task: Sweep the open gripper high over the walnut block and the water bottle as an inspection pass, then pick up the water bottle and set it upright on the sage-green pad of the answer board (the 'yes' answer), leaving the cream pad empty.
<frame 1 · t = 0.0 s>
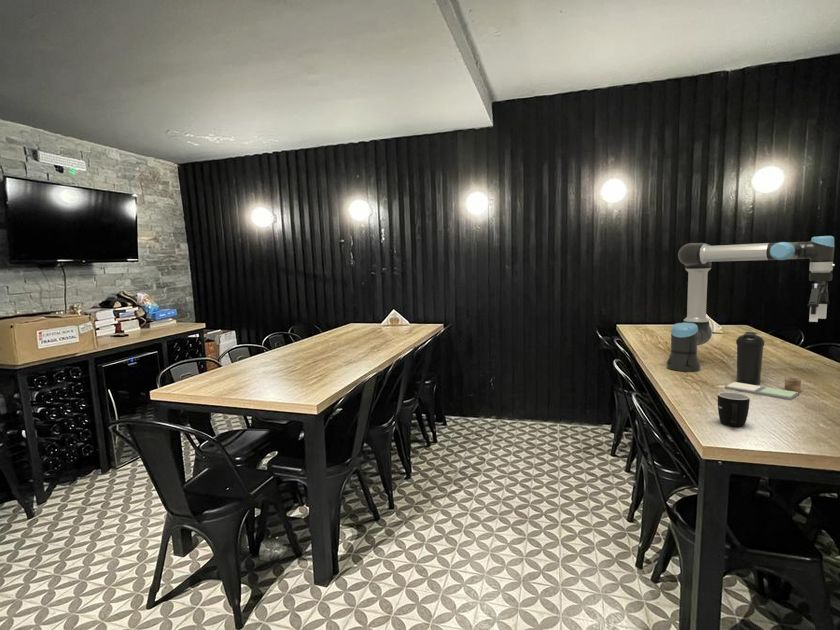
hand: (817, 320, 195), 28 cm above the table, fingers open, 13 cm apart
mug: (732, 426, 152), on the table
water bottle: (748, 383, 201), on the table
answer board: (760, 391, 188), on the table
walnut block: (792, 390, 187), on the table
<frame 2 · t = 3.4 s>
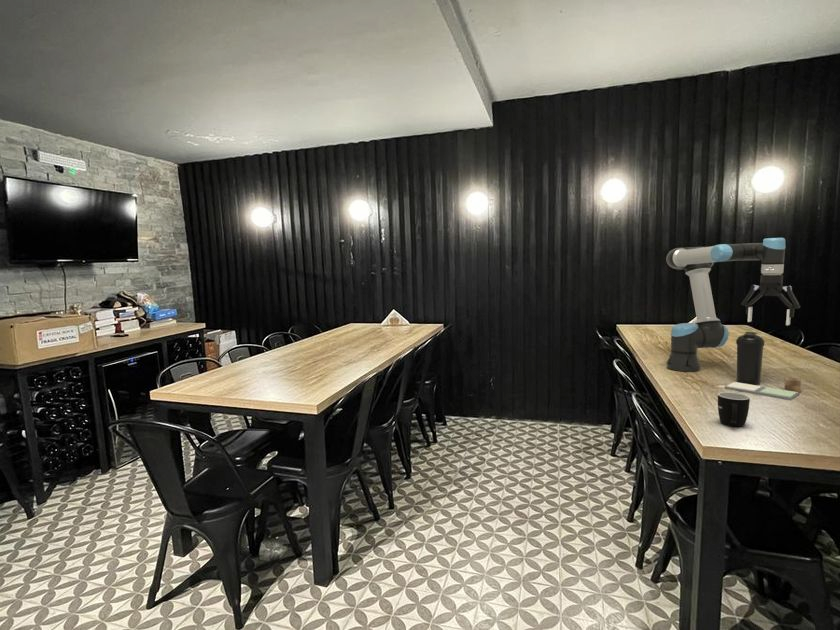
hand: (768, 323, 193), 28 cm above the table, fingers open, 13 cm apart
nothing on the table moved.
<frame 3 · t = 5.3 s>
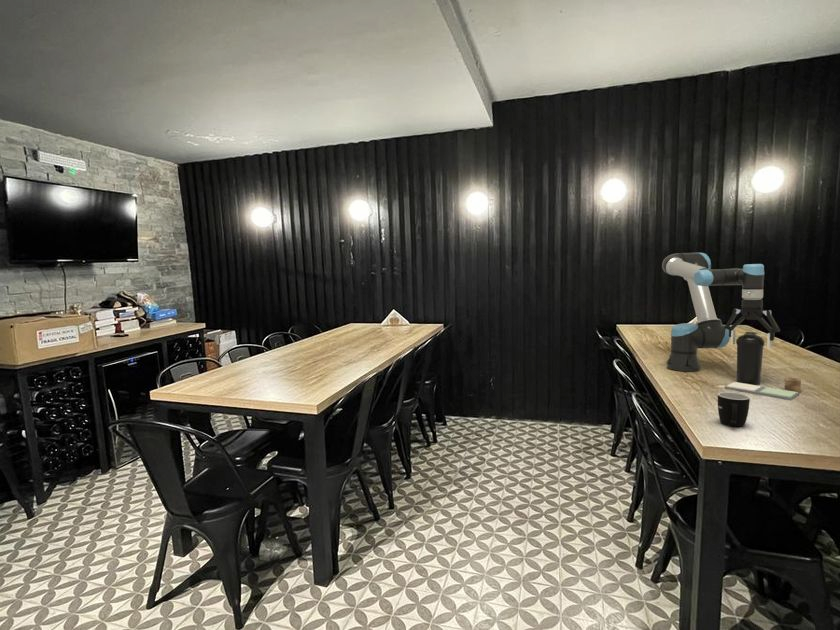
hand: (750, 346, 198), 17 cm above the table, fingers open, 13 cm apart
nothing on the table moved.
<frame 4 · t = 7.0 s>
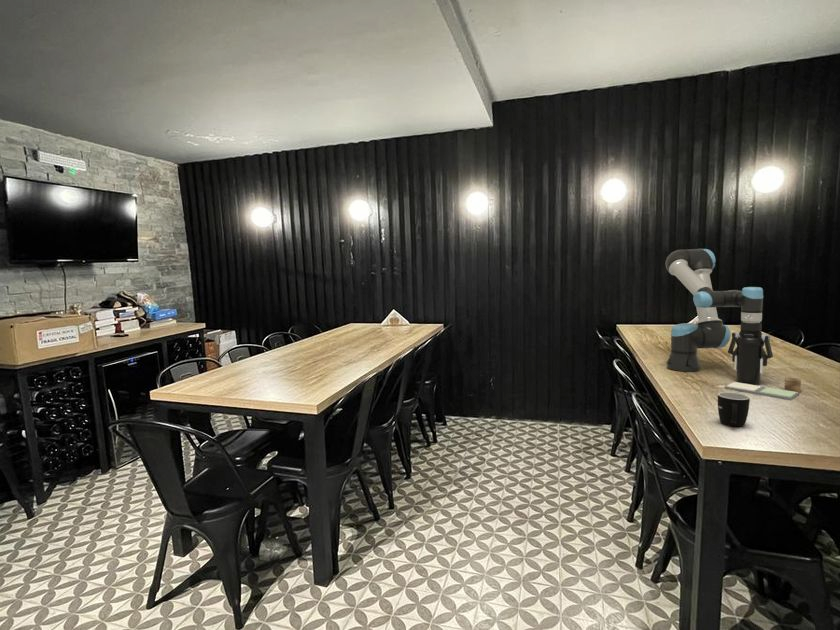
hand: (748, 371, 200), 6 cm above the table, fingers closed on water bottle, 9 cm apart
water bottle: (748, 383, 201), on the table, touching gripper
everything else where it was.
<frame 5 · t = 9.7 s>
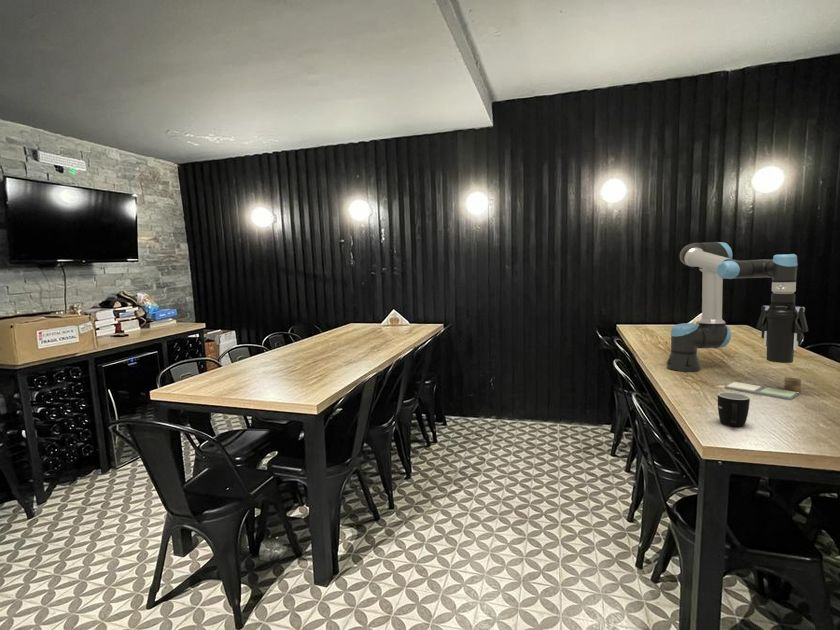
hand: (780, 347, 181), 20 cm above the table, fingers closed on water bottle, 9 cm apart
water bottle: (779, 361, 181), point 14 cm above the table, touching gripper
everything else where it was.
when the fingers open (7 cm above the table, at t = 12.5 s): water bottle stays where it is, resting on answer board.
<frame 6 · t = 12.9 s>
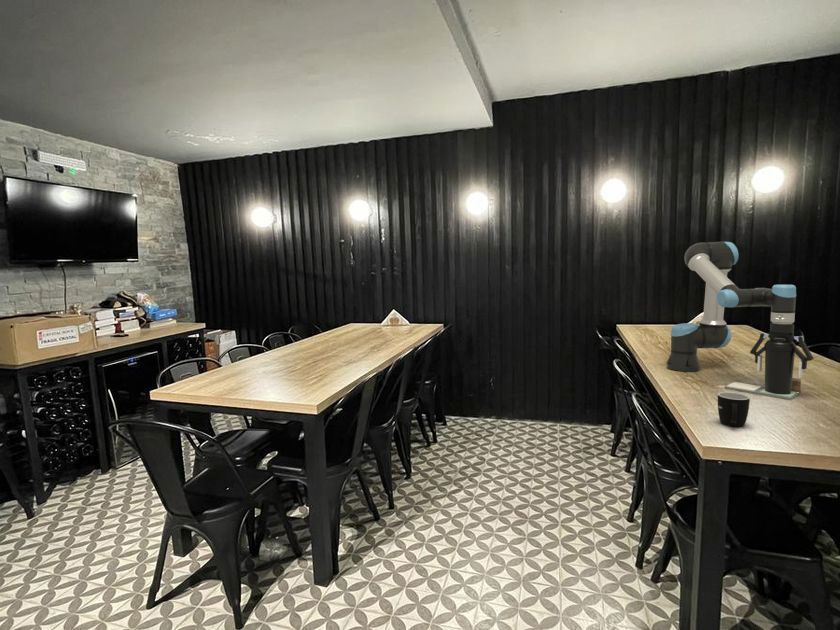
hand: (779, 374, 182), 9 cm above the table, fingers open, 13 cm apart
water bottle: (777, 392, 183), point 1 cm above the table, touching answer board
everything else where it was.
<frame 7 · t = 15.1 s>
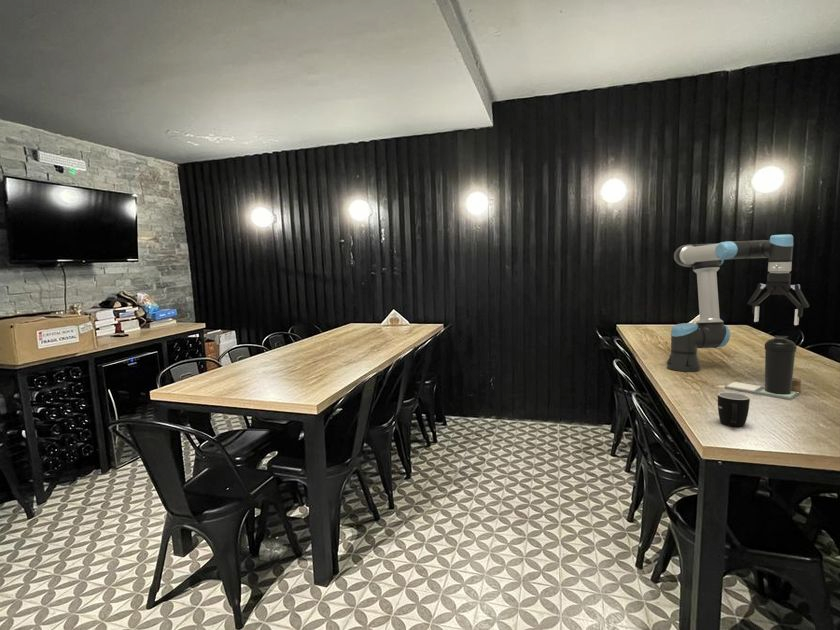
hand: (775, 323, 185), 29 cm above the table, fingers open, 13 cm apart
nothing on the table moved.
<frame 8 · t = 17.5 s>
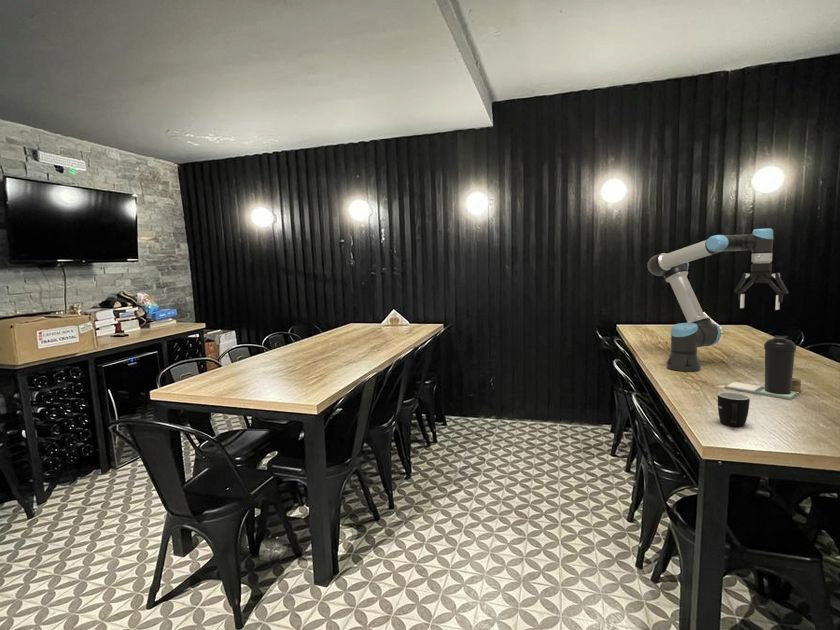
hand: (759, 308, 205), 33 cm above the table, fingers open, 13 cm apart
nothing on the table moved.
at the end: water bottle inside the target area (0.2 cm from its centre), point 1.0 cm above the table; water bottle tilted 0°; the gripper is holding nothing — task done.
